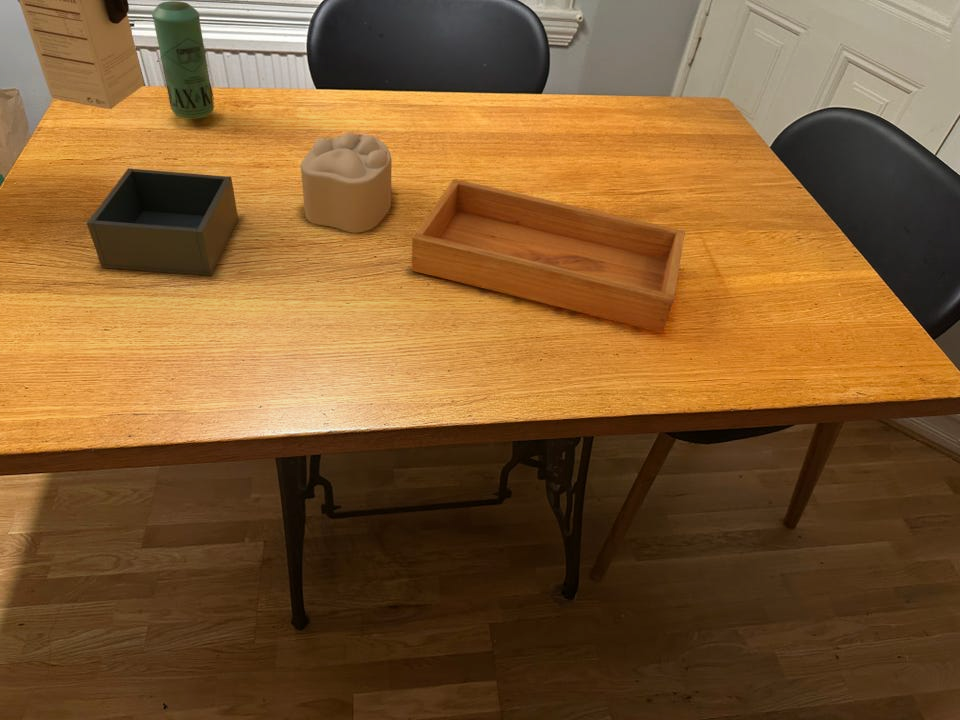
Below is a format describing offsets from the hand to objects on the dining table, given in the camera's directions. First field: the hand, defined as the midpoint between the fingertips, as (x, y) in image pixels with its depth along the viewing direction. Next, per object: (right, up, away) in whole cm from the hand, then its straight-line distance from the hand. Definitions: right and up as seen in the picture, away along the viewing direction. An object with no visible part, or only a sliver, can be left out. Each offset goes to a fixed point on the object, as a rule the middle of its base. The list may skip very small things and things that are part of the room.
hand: (77, 14), depth 75 cm
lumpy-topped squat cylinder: (+26, -16, +20) cm, 36 cm away
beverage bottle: (-1, 0, +34) cm, 34 cm away
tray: (+52, -26, +13) cm, 59 cm away
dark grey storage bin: (+6, -23, +10) cm, 26 cm away
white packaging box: (-1, -6, +6) cm, 9 cm away
